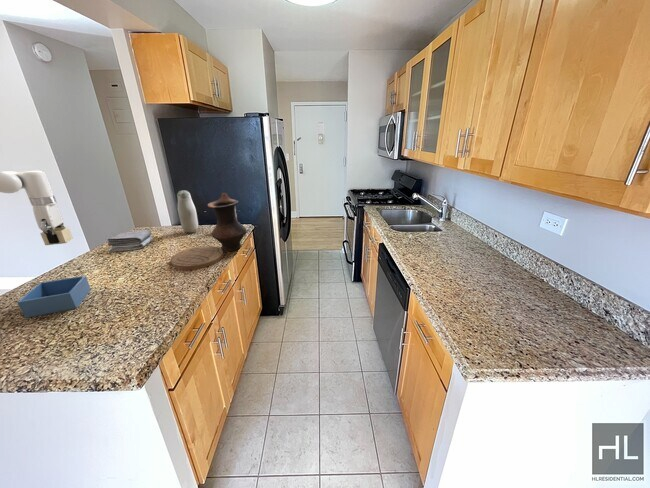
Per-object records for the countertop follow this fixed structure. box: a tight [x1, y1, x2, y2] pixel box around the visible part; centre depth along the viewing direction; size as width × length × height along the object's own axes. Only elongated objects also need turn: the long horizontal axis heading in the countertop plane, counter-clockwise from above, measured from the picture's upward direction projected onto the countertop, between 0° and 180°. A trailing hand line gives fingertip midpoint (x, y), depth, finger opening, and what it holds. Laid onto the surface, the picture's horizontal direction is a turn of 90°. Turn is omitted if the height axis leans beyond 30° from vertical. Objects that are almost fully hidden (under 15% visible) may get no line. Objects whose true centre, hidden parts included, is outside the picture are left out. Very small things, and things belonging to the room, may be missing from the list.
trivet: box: [169, 245, 225, 271], centre depth 135 cm, size 25×25×2 cm
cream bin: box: [39, 226, 74, 246], centre depth 115 cm, size 7×7×6 cm
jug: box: [207, 192, 248, 253], centre depth 144 cm, size 21×18×30 cm
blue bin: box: [16, 275, 92, 319], centre depth 98 cm, size 14×14×7 cm
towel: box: [107, 229, 154, 253], centre depth 151 cm, size 15×18×8 cm
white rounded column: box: [176, 189, 199, 234], centre depth 169 cm, size 10×10×28 cm
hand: (58, 239), depth 116 cm, fingers closed on cream bin, 7 cm apart
